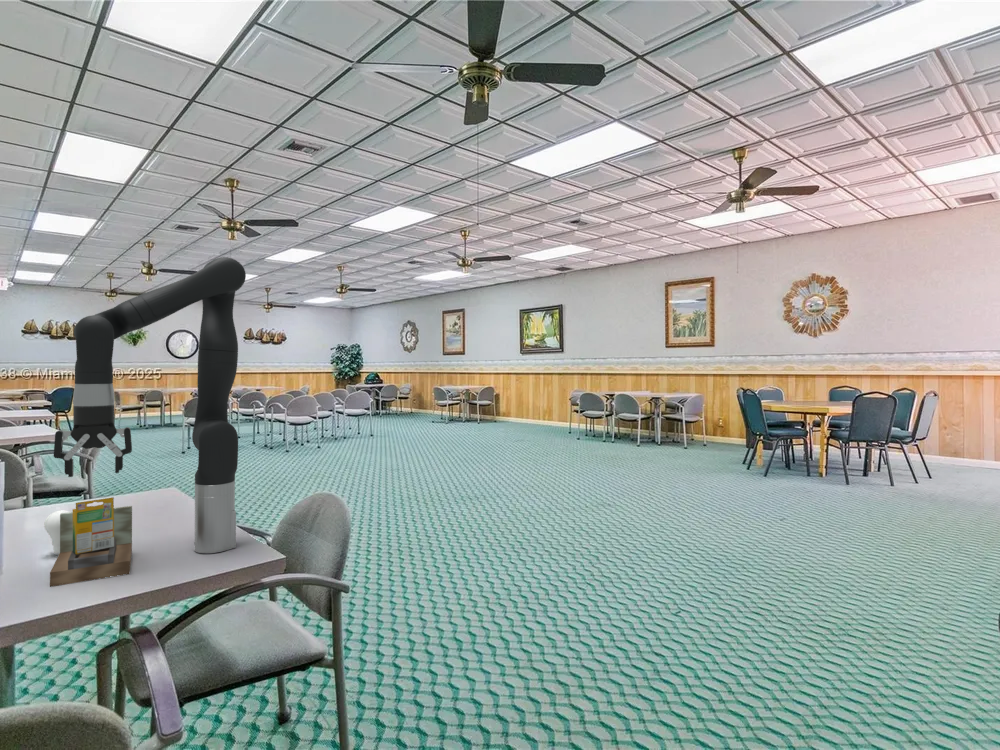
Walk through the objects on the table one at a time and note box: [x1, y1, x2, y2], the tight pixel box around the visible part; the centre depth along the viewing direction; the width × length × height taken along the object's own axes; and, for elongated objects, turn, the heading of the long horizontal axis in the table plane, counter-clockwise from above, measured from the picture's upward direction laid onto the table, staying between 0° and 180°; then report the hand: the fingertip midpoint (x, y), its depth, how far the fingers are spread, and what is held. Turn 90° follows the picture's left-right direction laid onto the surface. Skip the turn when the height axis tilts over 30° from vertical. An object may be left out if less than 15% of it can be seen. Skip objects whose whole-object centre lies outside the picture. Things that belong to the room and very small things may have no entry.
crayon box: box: [72, 496, 115, 555], centre depth 124 cm, size 7×3×12 cm, turn 139°
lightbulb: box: [43, 509, 70, 556], centre depth 135 cm, size 6×6×11 cm
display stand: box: [49, 505, 133, 588], centre depth 126 cm, size 14×16×12 cm
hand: (94, 474), depth 124 cm, fingers open, 8 cm apart
